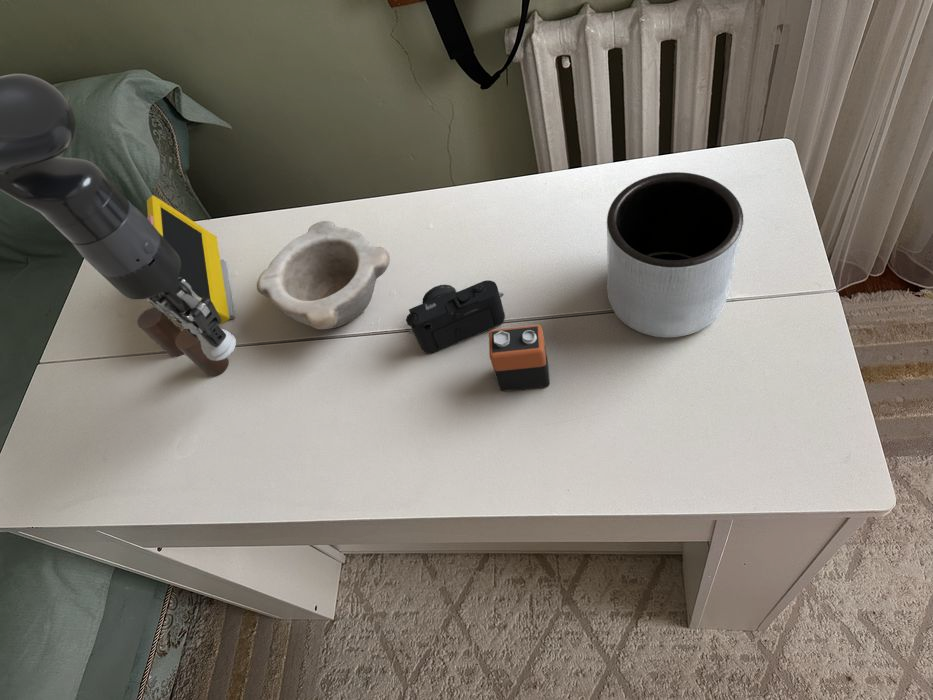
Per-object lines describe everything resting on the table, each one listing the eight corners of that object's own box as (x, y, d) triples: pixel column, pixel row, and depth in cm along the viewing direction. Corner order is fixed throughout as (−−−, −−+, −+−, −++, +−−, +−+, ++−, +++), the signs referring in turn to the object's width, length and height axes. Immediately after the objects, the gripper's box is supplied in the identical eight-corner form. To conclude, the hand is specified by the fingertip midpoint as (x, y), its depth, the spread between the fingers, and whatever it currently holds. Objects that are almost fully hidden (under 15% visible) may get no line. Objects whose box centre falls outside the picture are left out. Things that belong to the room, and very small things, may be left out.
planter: (714, 353, 82) (732, 278, 69) (593, 328, 88) (589, 255, 75) (735, 261, 89) (755, 177, 76) (623, 243, 95) (624, 163, 82)
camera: (495, 288, 95) (486, 253, 89) (513, 323, 91) (505, 289, 85) (408, 325, 95) (392, 292, 88) (422, 361, 91) (406, 330, 84)
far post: (179, 360, 100) (148, 332, 94) (163, 351, 102) (131, 323, 95) (195, 341, 102) (166, 312, 95) (179, 333, 103) (150, 304, 97)
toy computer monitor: (240, 331, 101) (185, 268, 88) (195, 350, 101) (132, 289, 88) (226, 249, 112) (176, 183, 99) (185, 266, 112) (129, 201, 99)
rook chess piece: (233, 361, 84) (200, 326, 77) (203, 364, 84) (168, 330, 78) (240, 333, 86) (209, 298, 79) (211, 336, 87) (178, 301, 80)
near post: (217, 380, 96) (187, 352, 90) (199, 371, 98) (169, 343, 92) (233, 360, 98) (206, 331, 91) (216, 351, 100) (188, 322, 93)
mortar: (413, 289, 98) (396, 250, 91) (338, 366, 93) (313, 331, 86) (343, 248, 107) (322, 209, 99) (270, 317, 101) (242, 281, 94)
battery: (499, 365, 88) (487, 324, 79) (548, 360, 86) (540, 318, 78) (500, 392, 85) (487, 353, 77) (550, 388, 84) (543, 347, 76)
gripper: (63, 255, 70) (156, 340, 84) (142, 293, 64) (228, 377, 78) (112, 209, 73) (194, 299, 87) (191, 241, 67) (265, 332, 81)
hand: (209, 336), depth 83 cm, fingers closed on rook chess piece, 3 cm apart
